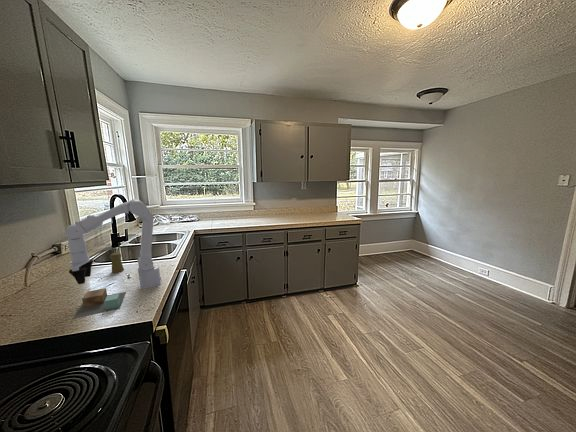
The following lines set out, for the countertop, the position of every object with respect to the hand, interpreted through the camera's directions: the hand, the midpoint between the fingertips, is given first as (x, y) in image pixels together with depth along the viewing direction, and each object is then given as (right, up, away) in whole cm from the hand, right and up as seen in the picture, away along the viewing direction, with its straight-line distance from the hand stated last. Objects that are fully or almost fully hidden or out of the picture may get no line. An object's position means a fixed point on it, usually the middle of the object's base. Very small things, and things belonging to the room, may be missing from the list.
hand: (84, 279), depth 108 cm
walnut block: (+5, -10, 0) cm, 11 cm away
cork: (-8, -4, +33) cm, 34 cm away
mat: (+10, -10, -2) cm, 14 cm away
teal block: (+16, -10, -4) cm, 19 cm away
